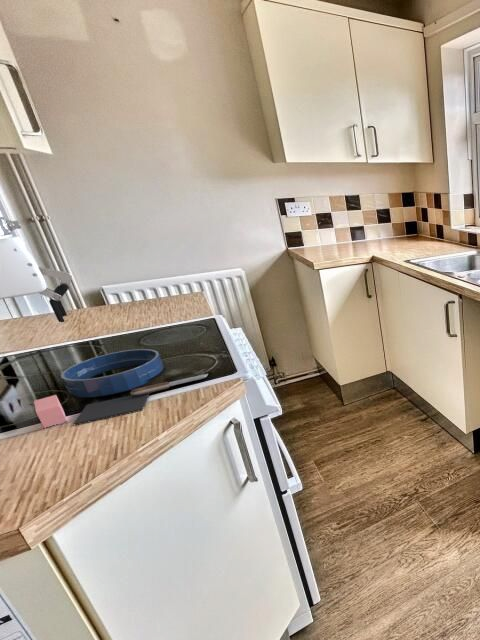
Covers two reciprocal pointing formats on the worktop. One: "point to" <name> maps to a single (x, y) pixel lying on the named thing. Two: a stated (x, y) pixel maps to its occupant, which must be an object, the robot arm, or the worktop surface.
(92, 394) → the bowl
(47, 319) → the worktop surface
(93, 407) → the mat
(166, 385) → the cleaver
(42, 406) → the eraser
